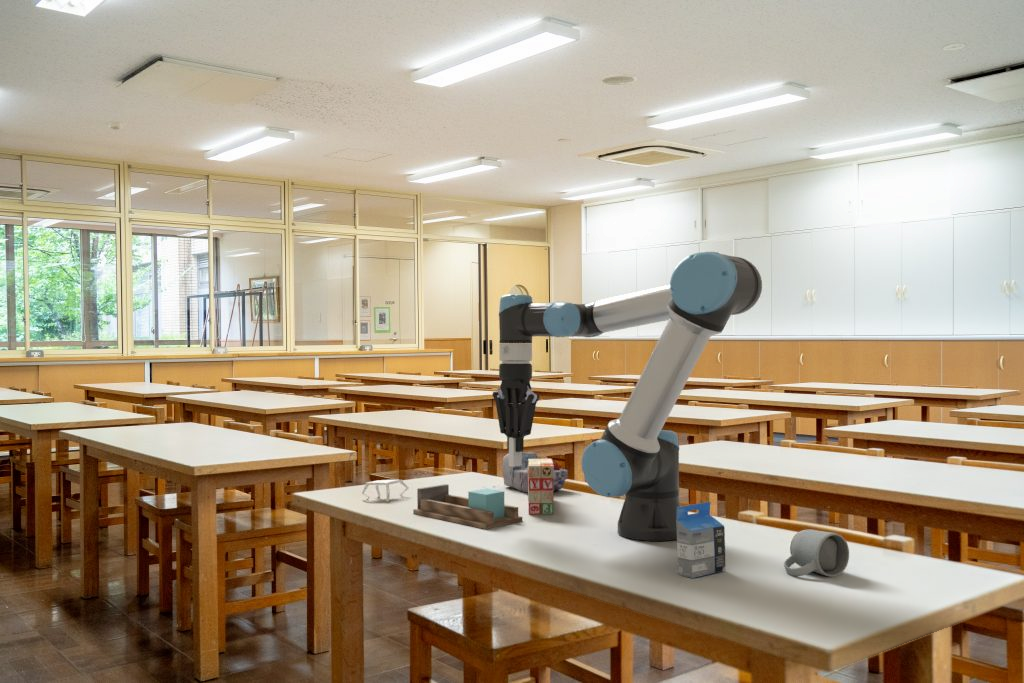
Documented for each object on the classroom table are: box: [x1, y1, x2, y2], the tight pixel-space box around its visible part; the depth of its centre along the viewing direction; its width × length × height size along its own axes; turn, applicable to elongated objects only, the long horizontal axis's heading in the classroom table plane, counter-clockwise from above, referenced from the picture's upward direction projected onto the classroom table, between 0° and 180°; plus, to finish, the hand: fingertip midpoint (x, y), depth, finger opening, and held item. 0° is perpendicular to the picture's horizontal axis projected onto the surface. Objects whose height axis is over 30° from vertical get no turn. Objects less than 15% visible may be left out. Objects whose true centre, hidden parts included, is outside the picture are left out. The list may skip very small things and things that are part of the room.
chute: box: [412, 483, 523, 530], centre depth 205 cm, size 26×12×6 cm, turn 45°
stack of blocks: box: [527, 458, 555, 516], centre depth 218 cm, size 21×6×12 cm, turn 0°
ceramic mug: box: [783, 528, 850, 578], centre depth 154 cm, size 11×8×8 cm
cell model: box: [501, 451, 569, 493], centre depth 244 cm, size 13×11×20 cm
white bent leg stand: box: [361, 479, 410, 502], centre depth 231 cm, size 12×8×5 cm
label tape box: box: [676, 501, 727, 579], centre depth 154 cm, size 9×4×12 cm, turn 124°
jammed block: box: [467, 488, 505, 519], centre depth 200 cm, size 6×6×6 cm
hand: (515, 465), depth 193 cm, fingers closed
